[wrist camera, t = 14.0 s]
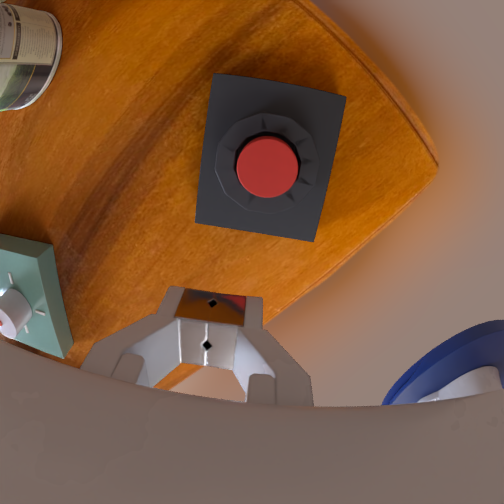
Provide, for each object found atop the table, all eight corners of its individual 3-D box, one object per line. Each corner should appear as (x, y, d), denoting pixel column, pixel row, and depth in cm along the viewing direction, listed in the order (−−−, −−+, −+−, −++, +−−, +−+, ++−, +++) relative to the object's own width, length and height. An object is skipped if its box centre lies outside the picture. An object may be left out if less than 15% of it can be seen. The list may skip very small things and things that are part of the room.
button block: (310, 231, 25) (317, 253, 21) (200, 213, 25) (189, 232, 21) (339, 97, 20) (353, 96, 17) (218, 76, 20) (208, 69, 16)
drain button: (289, 194, 20) (291, 202, 19) (235, 185, 20) (232, 192, 18) (300, 141, 18) (303, 144, 17) (243, 131, 18) (241, 134, 17)
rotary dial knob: (26, 292, 26) (7, 312, 23) (36, 324, 28) (20, 344, 25) (1, 285, 26) (-18, 303, 23) (11, 315, 28) (-5, 334, 25)
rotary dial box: (74, 343, 33) (63, 360, 30) (19, 323, 33) (7, 337, 30) (53, 244, 27) (36, 258, 24) (-6, 232, 26) (-22, 243, 24)
